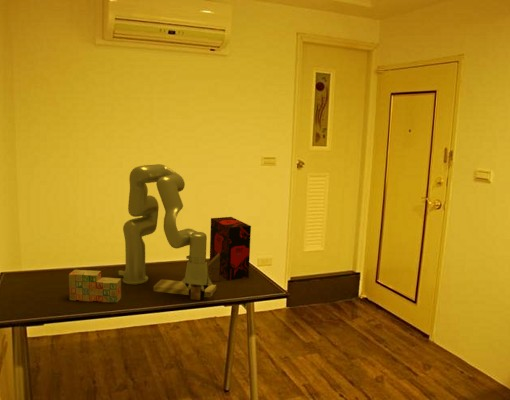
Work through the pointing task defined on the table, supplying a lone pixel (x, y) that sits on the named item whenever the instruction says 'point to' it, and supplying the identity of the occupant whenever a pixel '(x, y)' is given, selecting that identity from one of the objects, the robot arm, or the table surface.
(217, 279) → the brown angled bracket
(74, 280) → the stack of blocks
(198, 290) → the gauge
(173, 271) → the table surface
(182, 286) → the board
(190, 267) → the robot arm
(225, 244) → the box
